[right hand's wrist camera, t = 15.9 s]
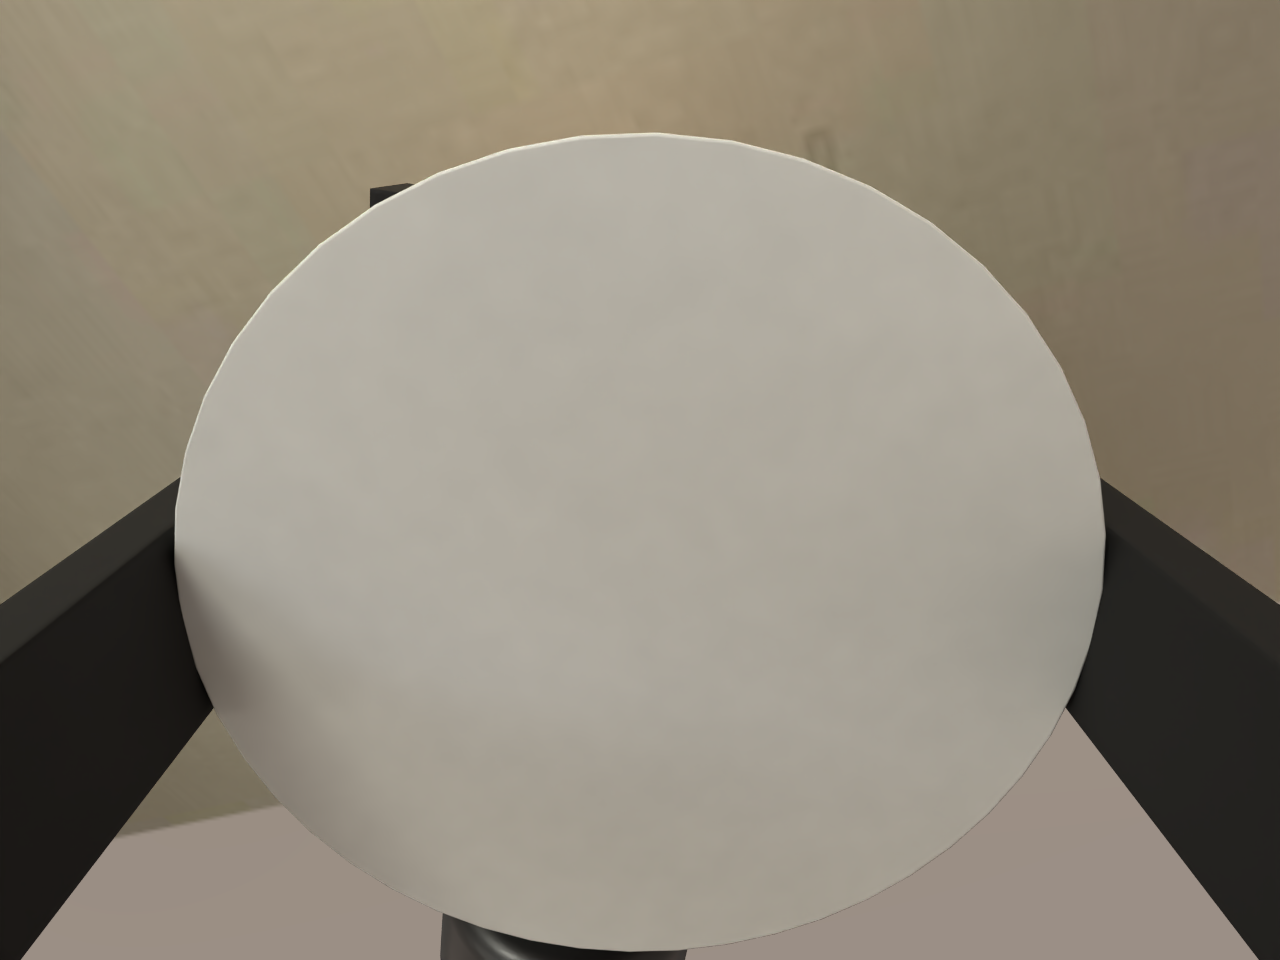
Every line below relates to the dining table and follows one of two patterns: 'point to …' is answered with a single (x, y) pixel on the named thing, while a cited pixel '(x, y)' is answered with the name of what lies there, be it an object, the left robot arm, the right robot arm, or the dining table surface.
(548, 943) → the left robot arm
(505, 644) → the lid
